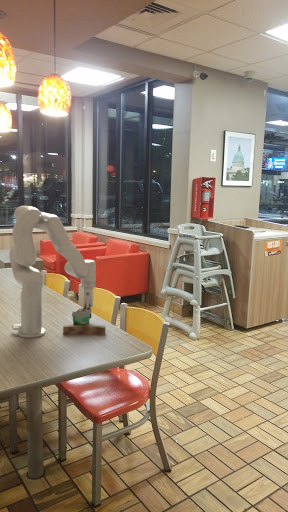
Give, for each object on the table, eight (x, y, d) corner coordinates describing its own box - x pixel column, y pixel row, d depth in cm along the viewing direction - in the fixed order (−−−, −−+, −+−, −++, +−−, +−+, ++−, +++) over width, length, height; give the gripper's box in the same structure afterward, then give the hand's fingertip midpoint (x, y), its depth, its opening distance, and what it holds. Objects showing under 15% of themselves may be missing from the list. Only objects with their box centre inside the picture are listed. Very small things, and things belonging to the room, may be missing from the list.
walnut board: (63, 334, 187) (63, 326, 186) (63, 332, 189) (63, 325, 188) (105, 335, 188) (105, 327, 188) (105, 333, 191) (105, 325, 190)
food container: (82, 333, 190) (82, 314, 187) (71, 331, 192) (71, 311, 190) (95, 325, 200) (96, 306, 198) (85, 323, 203) (85, 304, 201)
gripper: (94, 287, 195) (94, 322, 198) (96, 280, 210) (95, 313, 213) (79, 287, 194) (79, 322, 197) (81, 280, 209) (81, 313, 212)
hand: (88, 317), depth 205 cm, fingers closed
